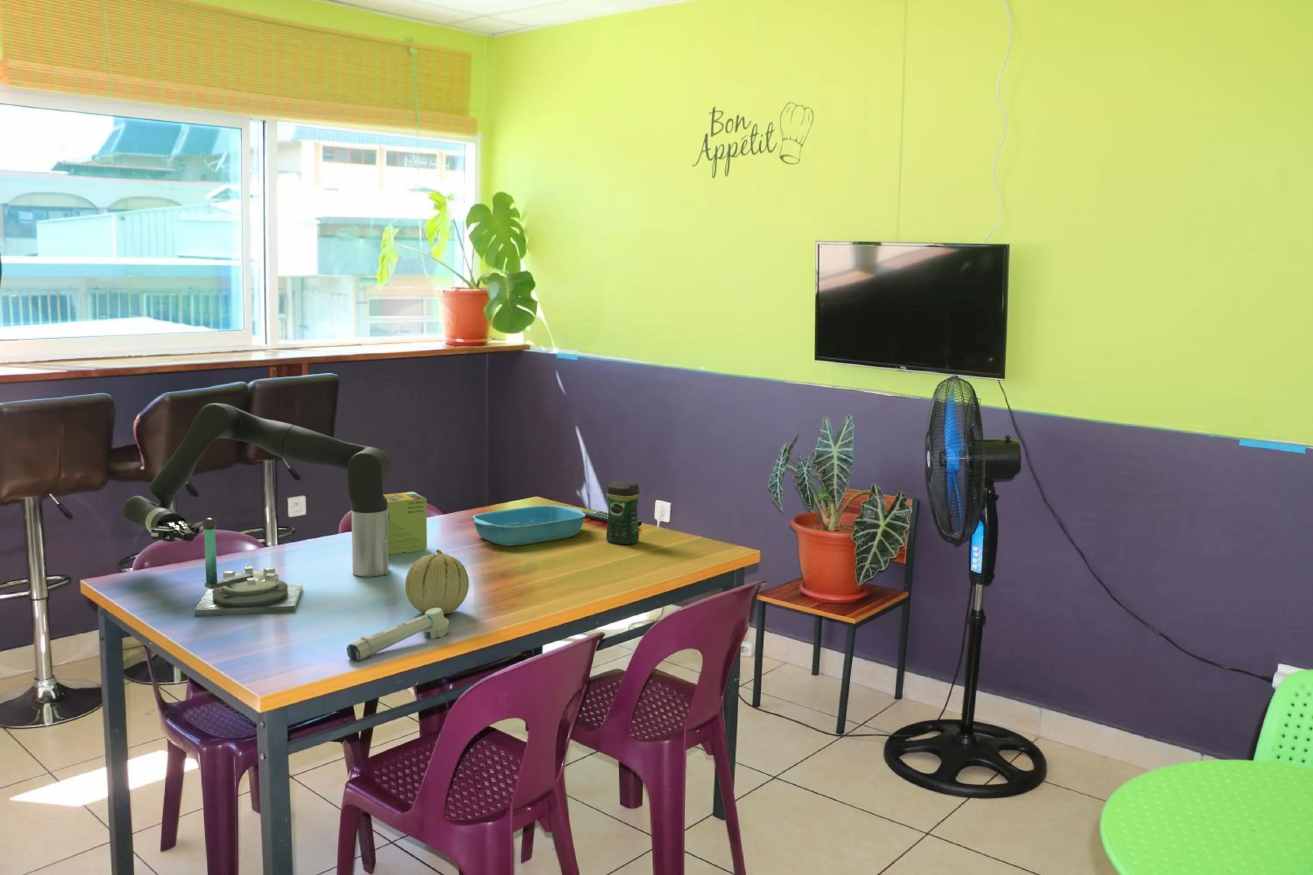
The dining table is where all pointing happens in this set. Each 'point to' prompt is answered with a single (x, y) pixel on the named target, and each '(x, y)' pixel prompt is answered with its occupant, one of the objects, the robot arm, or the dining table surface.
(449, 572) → the cantaloupe
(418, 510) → the protein box
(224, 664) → the dining table surface
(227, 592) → the crank handle wheel
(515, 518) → the casserole dish
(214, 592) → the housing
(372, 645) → the beige piece
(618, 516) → the coffee jar
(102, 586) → the dining table surface
